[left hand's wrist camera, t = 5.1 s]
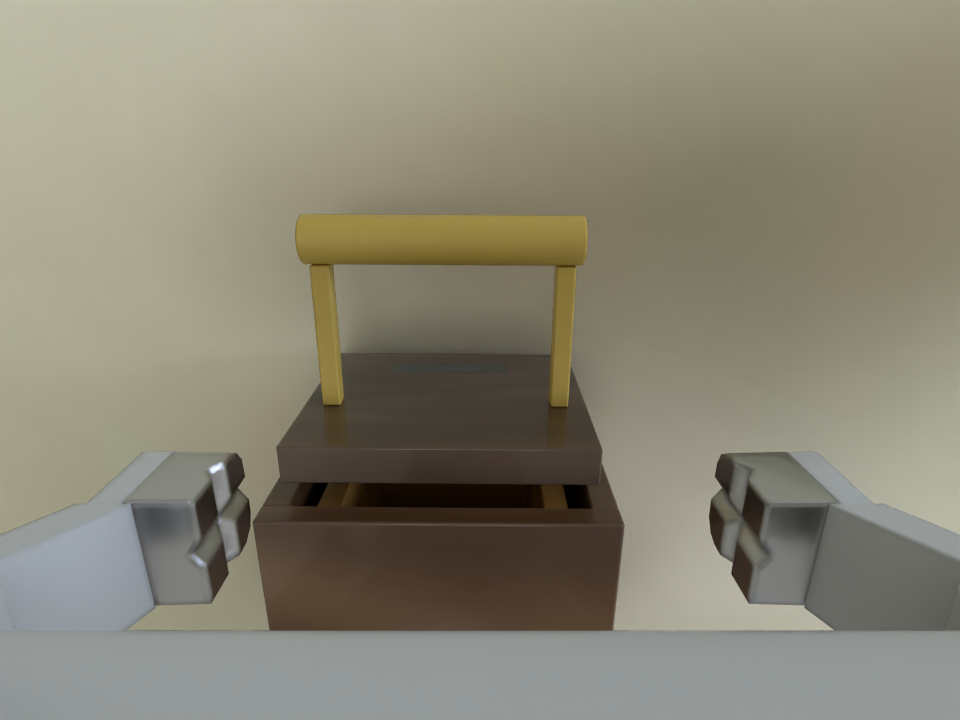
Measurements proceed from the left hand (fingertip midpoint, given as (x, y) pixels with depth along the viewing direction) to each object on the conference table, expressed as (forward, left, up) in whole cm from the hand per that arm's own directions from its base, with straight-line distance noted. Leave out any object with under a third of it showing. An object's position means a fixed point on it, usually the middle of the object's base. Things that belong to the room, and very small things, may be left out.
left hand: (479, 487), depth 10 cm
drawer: (+6, -1, -14) cm, 15 cm away
